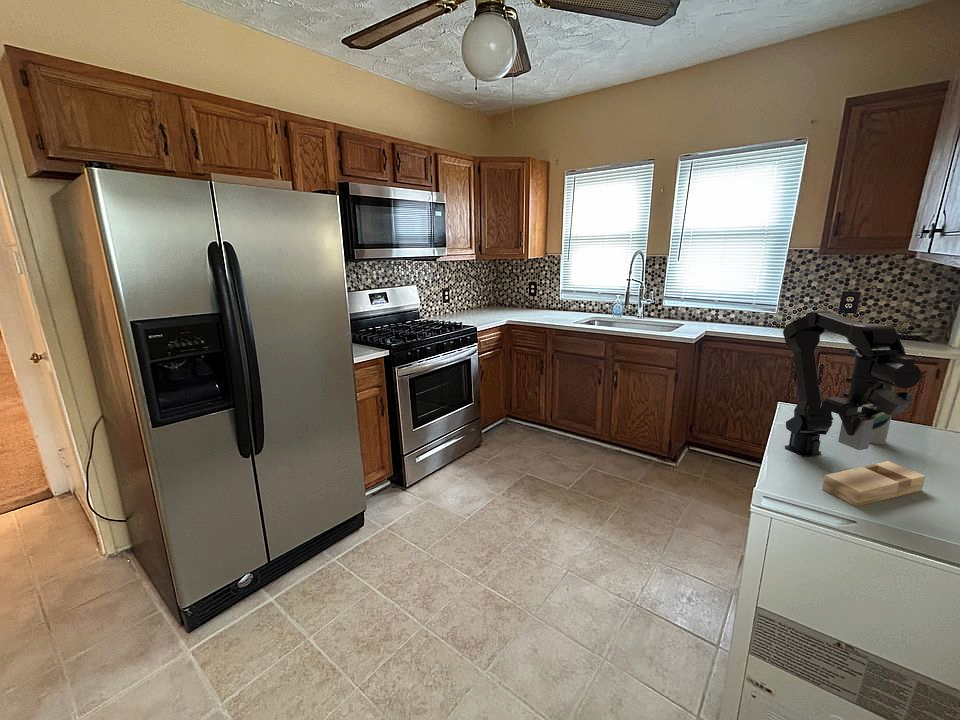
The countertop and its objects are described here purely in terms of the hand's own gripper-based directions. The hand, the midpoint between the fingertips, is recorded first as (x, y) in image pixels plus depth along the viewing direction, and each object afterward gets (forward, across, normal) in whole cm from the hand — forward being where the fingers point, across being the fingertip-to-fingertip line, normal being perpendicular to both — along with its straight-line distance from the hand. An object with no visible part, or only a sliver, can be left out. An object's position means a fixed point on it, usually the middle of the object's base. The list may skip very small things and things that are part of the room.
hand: (855, 434), depth 107 cm
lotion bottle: (+13, +31, +15) cm, 37 cm away
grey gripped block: (+3, 0, 0) cm, 3 cm away
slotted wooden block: (+13, +2, -5) cm, 14 cm away
